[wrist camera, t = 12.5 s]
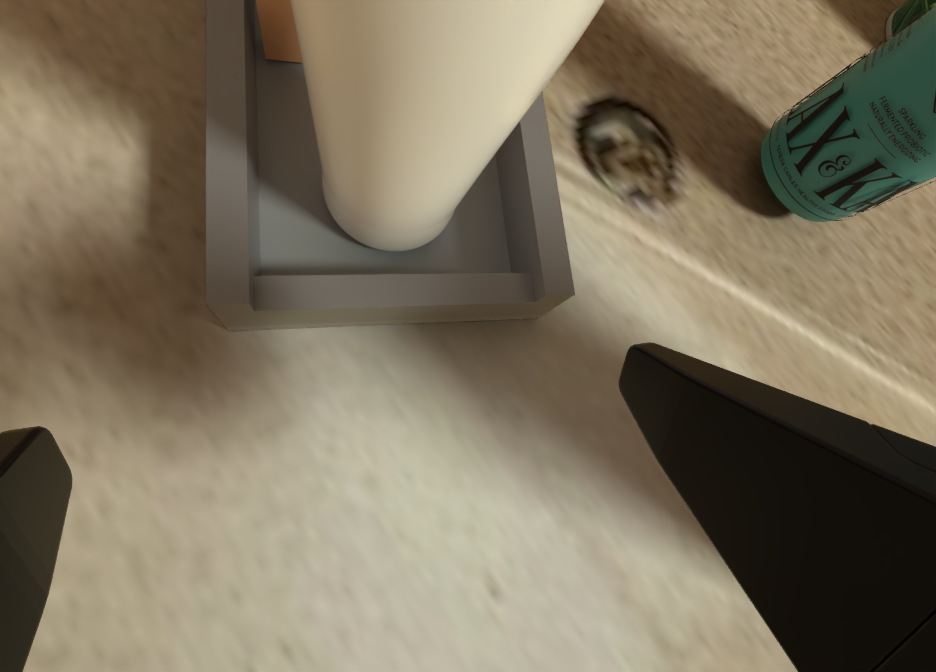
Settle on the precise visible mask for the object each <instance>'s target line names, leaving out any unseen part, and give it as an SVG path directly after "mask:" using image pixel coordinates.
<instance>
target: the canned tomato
mask: <svg viewBox="0 0 936 672" xmlns="http://www.w3.org/2000/svg"><path fill="white" fill-rule="evenodd" d="M929 6H930V7H929ZM934 7H936V0H909V1H907V2H906V3H905V4H903V5H902V6H900V7H899V8H897V9H896V10H894V11H893V12H892V13H891V15H890V16H889V18H888V21H887V24H886V40H887V41H888V40H889V39H891V38H892V37H894V36H893V34H894V35H895V34H896V33H897V32H898V33H900V32H901V30H899V29H902V28H903V29H904V28H905V25H906V23H909V22H912V20H914V21H916V20H918V19H919V18H920V17H919V16H921V15H922V13H923V12H924V10H926V11H925V12H924V13H923V15H925V14H926V13H927V12H929V11H930V10H929V9H931V8H932V9H933V8H934ZM932 9H931V10H932ZM927 10H929V11H927ZM922 11H923V12H922ZM921 12H922V13H921ZM919 13H920V14H919ZM917 15H918V16H917ZM916 16H917V18H915V17H916ZM911 19H912V20H911ZM908 21H909V22H908ZM914 21H913V23H914ZM911 24H912V23H911ZM911 24H910V23H909V25H911ZM909 25H908V24H907V25H906V28H907V26H909ZM901 26H902V27H901ZM903 26H904V27H903ZM897 30H898V31H897ZM895 31H897V32H895ZM898 33H897V34H898ZM888 36H889V38H887V37H888ZM890 36H891V37H890ZM895 36H896V35H895Z"/></svg>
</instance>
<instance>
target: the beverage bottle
mask: <svg viewBox="0 0 936 672" xmlns="http://www.w3.org/2000/svg"><path fill="white" fill-rule="evenodd" d="M929 7H930V6H929ZM931 9H932V8H931ZM931 9H929V10H930V11H929V10H927V11H929V12H927V13H926V14H925V15H923V13H924V12H925V11H926V10H924V12H923V11H922V12H923V13H922V12H921V13H922V15H921V16H919V17H920V18H919V19H918V20H916V21H914V20H912V19H911V20H912V22H909V21H908V22H909V23H910V24H911V23H912V24H911V25H909V23H906V25H907V24H908V25H909V26H907V28H906V25H905V28H904V29H903V28H902V29H899V30H901V32H900V33H898V32H897V31H898V30H897V31H895V32H897V33H898V34H897V33H896V34H895V35H896V36H895V35H894V34H893V36H894V37H892V38H891V39H889V40H888V41H887V40H885V41H886V43H885V44H883V45H882V46H880V47H879V48H877V47H878V46H877V47H876V48H877V49H876V50H875V51H873V52H872V53H871V51H872V50H870V53H871V54H870V53H868V54H869V55H866V53H865V54H864V55H866V56H864V55H863V57H864V58H863V57H860V58H861V60H860V61H858V62H857V63H855V64H854V65H853V66H851V64H852V63H851V64H850V65H849V66H847V67H846V68H844V69H843V70H842V71H841V72H843V71H844V70H845V69H847V70H846V71H844V72H843V73H842V74H840V73H841V72H839V73H838V74H837V75H839V74H840V75H839V76H838V77H836V76H837V75H835V76H834V77H832V78H831V79H830V80H832V79H833V80H832V81H831V82H829V81H830V80H828V81H827V82H826V83H828V82H829V83H828V84H827V85H825V84H826V83H824V84H823V85H825V86H824V87H822V86H823V85H822V86H820V87H819V88H821V87H822V88H821V89H820V90H818V89H819V88H817V89H816V90H815V91H817V90H818V91H817V92H816V93H814V92H815V91H813V92H812V93H814V94H813V95H811V94H812V93H811V94H809V95H808V96H809V97H810V98H809V97H808V96H806V97H805V98H804V99H806V98H809V99H807V100H806V101H804V102H803V103H800V102H801V101H803V100H804V99H802V100H801V101H800V102H798V103H797V104H798V105H799V106H798V107H796V108H795V109H793V108H794V107H795V106H796V105H797V104H796V105H794V107H793V108H792V109H791V111H790V112H789V113H788V114H786V115H785V116H784V115H783V116H784V117H783V116H782V118H780V120H779V121H777V122H776V121H775V122H776V123H775V122H774V124H775V125H774V124H773V126H772V128H771V129H770V130H769V132H768V133H767V134H766V136H765V138H764V140H763V143H762V148H761V162H762V167H763V171H764V174H765V177H766V179H767V182H768V184H769V185H770V187H771V189H772V191H773V192H774V194H775V195H776V196H777V198H778V199H779V200H780V201H781V202H782V203H783V204H784V205H785V206H786V207H787V208H788V209H789V210H790V211H792V212H793V213H795V214H796V215H798V216H800V217H802V218H804V219H807V220H810V221H815V222H826V221H841V220H838V219H841V218H843V217H845V218H846V216H848V215H850V214H852V213H855V212H858V213H859V212H861V213H862V212H864V210H865V211H867V209H868V208H870V207H872V206H874V205H876V204H877V205H878V204H880V203H882V202H884V201H886V200H888V198H889V199H890V197H891V198H892V196H893V197H894V195H896V194H898V193H900V192H902V191H905V190H907V189H909V188H911V187H914V186H916V185H918V184H920V183H923V182H925V181H927V180H930V179H932V178H934V177H936V7H934V8H933V9H932V10H931ZM919 14H920V13H919ZM917 16H918V15H917ZM917 16H916V17H915V18H917ZM913 21H914V23H913ZM901 27H902V26H901ZM903 27H904V26H903ZM890 37H891V36H890ZM887 38H889V36H888V37H887ZM885 41H884V42H885ZM882 42H883V41H881V42H880V43H882ZM880 43H878V45H881V44H880ZM873 49H874V47H873ZM860 58H858V59H860ZM858 59H857V60H858ZM855 61H856V60H855ZM855 61H854V62H855ZM850 66H851V67H850ZM849 67H850V68H849ZM848 68H849V69H848ZM834 78H835V79H834ZM810 95H811V96H810ZM787 111H789V109H788V110H787ZM784 113H785V112H784ZM781 115H782V114H781ZM778 118H779V117H778ZM778 118H777V119H778ZM777 119H776V120H777ZM933 182H934V181H933ZM930 183H932V182H930ZM926 185H927V184H926ZM924 186H925V185H924ZM919 188H920V187H919ZM917 189H918V188H917ZM915 190H916V189H915ZM910 192H911V191H910ZM908 193H909V192H908ZM903 195H904V194H903ZM901 196H902V195H901ZM896 198H897V197H896ZM894 199H895V198H894ZM892 200H893V199H892ZM887 202H888V201H887ZM885 203H886V202H885ZM877 205H876V206H877ZM880 205H881V204H880ZM878 206H879V205H878ZM874 207H875V206H874ZM874 207H873V208H874ZM871 209H872V208H871ZM869 210H870V209H869ZM852 216H853V215H852ZM852 216H851V217H852ZM854 216H856V214H855V215H854ZM848 217H850V216H848ZM848 219H849V218H848ZM845 220H846V219H845Z"/></svg>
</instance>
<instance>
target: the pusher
mask: <svg viewBox="0 0 936 672" xmlns="http://www.w3.org/2000/svg"><path fill="white" fill-rule="evenodd" d="M256 4H257V10H258V16H259V22H260V28H261V34H262V40H263V46H264V52H265V57H266V59H271V60H280V61H289V62H299V63H302V62H301V57H300V52H299V47H298V42H297V37H296V32H295V26H294V21H293V16H292V11H291V6H290V1H289V0H256Z"/></svg>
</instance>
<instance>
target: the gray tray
mask: <svg viewBox="0 0 936 672" xmlns="http://www.w3.org/2000/svg"><path fill="white" fill-rule="evenodd" d="M573 295H575V293H574V286H573V280H572V274H571V268H570V261H569V255H568V249H567V242H566V236H565V230H564V224H563V217H562V211H561V205H560V199H559V192H558V186H557V180H556V173H555V167H554V161H553V155H552V148H551V142H550V136H549V130H548V123H547V117H546V111H545V104H544V98H543V92H541V93H540V95H539V96H538V97H537V99H536V100H535V101H534V103H533V104H532V105H531V107H530V108H529V109H528V111H527V112H526V113H525V115H524V116H523V117H522V119H521V120H520V122H519V123H518V124H517V126H516V127H515V128H514V130H513V131H512V132H511V134H510V135H509V136H508V138H507V139H506V140H505V142H504V143H503V144H502V146H501V147H500V148H499V150H498V151H497V152H496V154H495V155H494V157H493V158H492V159H491V161H490V162H489V163H488V165H487V166H486V167H485V169H484V170H483V172H482V173H481V174H480V176H479V177H478V178H477V180H476V181H475V183H474V184H473V185H472V187H471V188H470V189H469V191H468V192H467V194H466V195H465V196H464V198H463V199H462V201H461V202H460V203H459V205H458V207H457V208H456V210H455V212H454V214H453V216H452V218H451V220H450V221H449V223H448V225H447V226H446V227H445V229H444V230H443V231H442V232H441V233H440V234H439V235H438V236H437V237H436V238H435V239H434V240H432V241H431V242H429V243H427V244H425V245H424V246H421V247H419V248H416V249H413V250H408V251H400V252H391V251H383V250H378V249H374V248H371V247H369V246H366V245H364V244H362V243H360V242H358V241H357V240H355V239H353V238H352V237H351V236H349V235H348V234H347V233H346V232H345V231H344V230H343V229H342V228H341V227H340V226H339V225H338V224H337V223H336V221H335V220H334V218H333V217H332V215H331V214H330V212H329V210H328V208H327V205H326V203H325V199H324V196H323V190H322V179H321V163H320V157H319V151H318V146H317V140H316V135H315V130H314V124H313V119H312V114H311V108H310V103H309V98H308V93H307V88H306V82H305V77H304V72H303V67H302V63H299V62H289V61H280V60H271V59H266V57H265V52H264V46H263V40H262V34H261V28H260V22H259V16H258V10H257V4H256V0H206V305H207V306H208V307H209V309H210V310H211V311H212V312H213V313H214V314H215V315H216V317H217V318H218V319H219V320H220V321H221V322H222V323H223V325H224V326H225V327H226V328H227V329H228V330H229V331H244V330H268V329H292V328H317V327H341V326H365V325H389V324H414V323H438V322H462V321H486V320H511V319H535V318H539V317H540V316H542V315H543V314H545V313H546V312H548V311H550V310H551V309H553V308H554V307H556V306H557V305H559V304H561V303H562V302H564V301H565V300H567V299H568V298H570V297H572V296H573Z"/></svg>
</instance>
